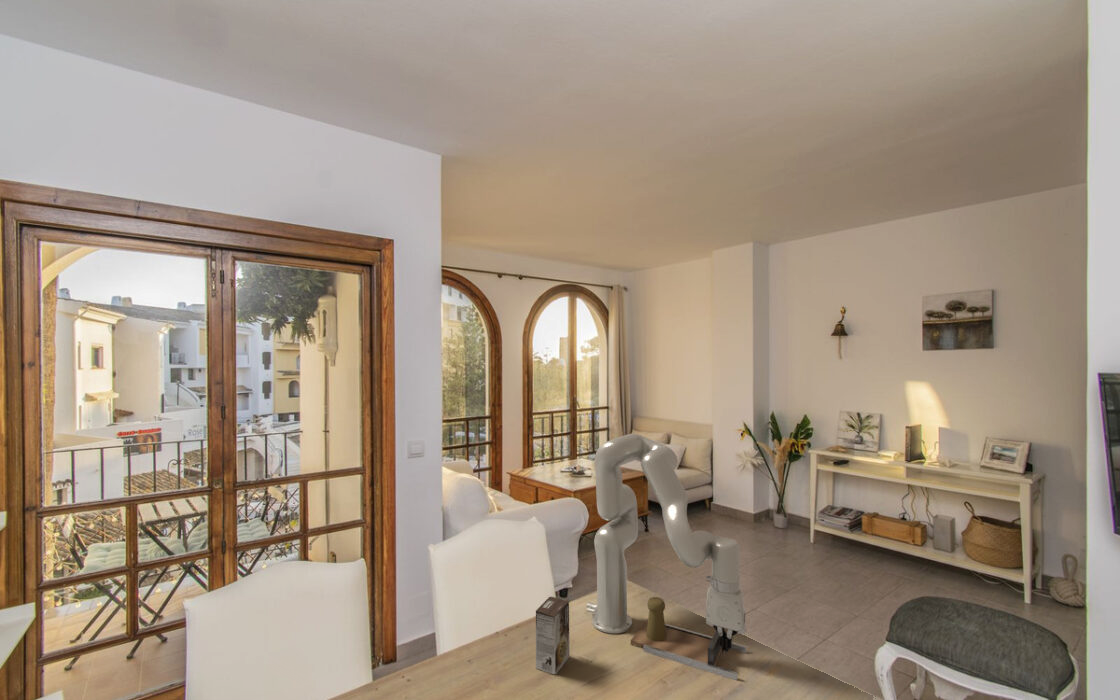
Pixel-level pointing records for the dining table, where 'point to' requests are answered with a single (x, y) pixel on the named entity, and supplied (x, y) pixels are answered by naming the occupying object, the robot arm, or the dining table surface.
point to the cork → (656, 620)
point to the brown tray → (682, 644)
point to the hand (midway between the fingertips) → (725, 649)
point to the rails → (691, 661)
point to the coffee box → (552, 635)
